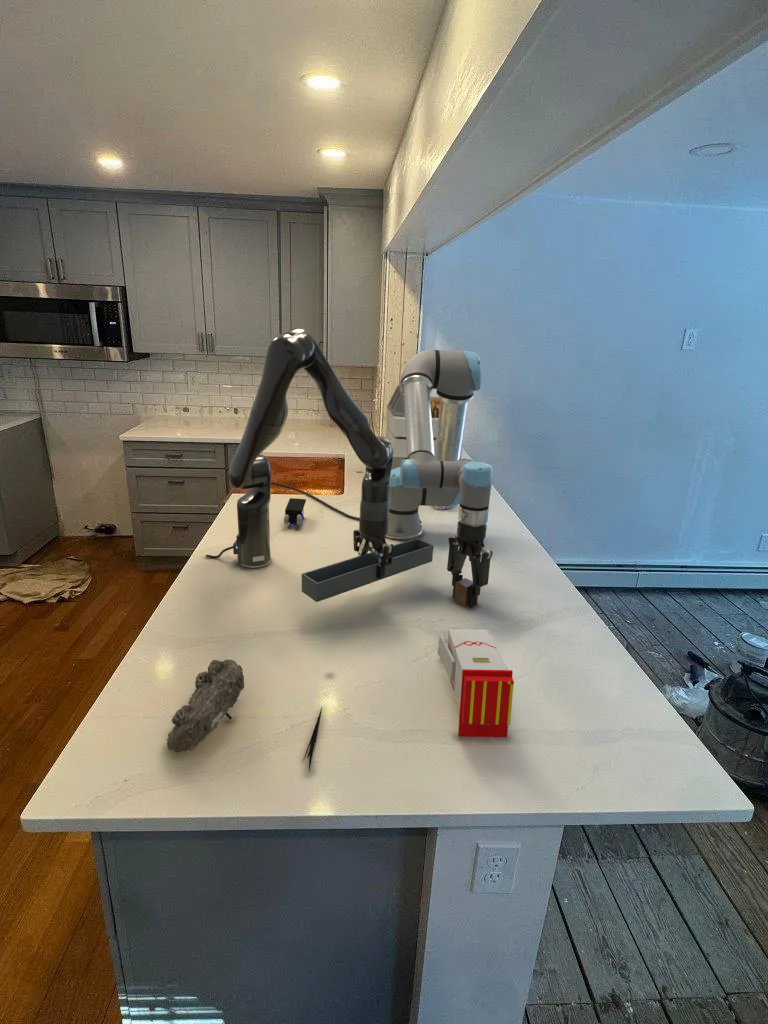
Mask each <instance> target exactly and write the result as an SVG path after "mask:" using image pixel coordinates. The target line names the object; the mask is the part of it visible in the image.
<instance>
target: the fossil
mask: <svg viewBox="0 0 768 1024" xmlns="http://www.w3.org/2000/svg"><path fill="white" fill-rule="evenodd" d="M243 670H244V669H243V667H242V665H240V664H237V662H236V661H235V660H234V659H232V658H231V659H227V658H226V659H224V660H223V661H222V660H217V659H212V660H211V661H210V663H209V665H208V666H207V671H201V672H199V673H198V674H197V675H196V676H195V680H194V684H195V685H194V687H195V689H194V690H193V693H192V694H191V697H190V698H189V700H188V704H184V705H182V706H181V707H180V709H177V710H176V711H175V713H174V715H173V716H172V718H171V723H172V724H173V727H172V730H171V731H170V732H168V734H167V738H166V741H167V742H166V745H167V749H168V750H169V751H173V752H174V753H176V754H178V753H182V752H188V751H189V752H192V751H193V750H195V748H196V747H197V746H199V744H200V743H201V742H203V741H204V740H205V739H206V738H207V737H208V736H209V735H210V734H211V733H212V732H214V730H215V729H217V727H218V726H219V724H220V722H221V721H222V720H223V719H224V718H225V716H226V717H227V719H229V720H233V717H232V715H230V714H229V710H230V709H231V708H234V706H235V704H236V703H237V702H238V699H239V697H240V695H241V693H242V691H243V690H245V689H244V688H245V675H244V671H243Z"/></svg>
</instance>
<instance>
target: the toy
mask: <svg viewBox="0 0 768 1024" xmlns="http://www.w3.org/2000/svg"><path fill="white" fill-rule="evenodd" d="M446 640H447V643H446V641H445V639H444V636H443V635H442V634H439V637H438V646H437V656H438V657H439V659H440V661H441V663H442V666H443V668H444V670H445V672H446V674H447V677H448V679H449V681H450V684H451V687H452V690H453V693H454V697H455V701H456V705H457V708H458V711H459V714H458V715H459V716H458V730H457V731H458V732H457V737H458V738H508V731H509V726H510V725H511V717H512V707H513V697H514V696H513V695H514V684H515V680H514V679H513V673H514V671H513V670H512V669H508V667H507V665H506V662H505V661H504V659H503V658H502V655H501V653H500V651H499V649H498V647H497V643H496V639H495V637H494V635H493V634H491V632H490V631H489V629H467V628H466V629H465V628H463V629H461V628H460V629H459V628H448V630H447V639H446Z"/></svg>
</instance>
